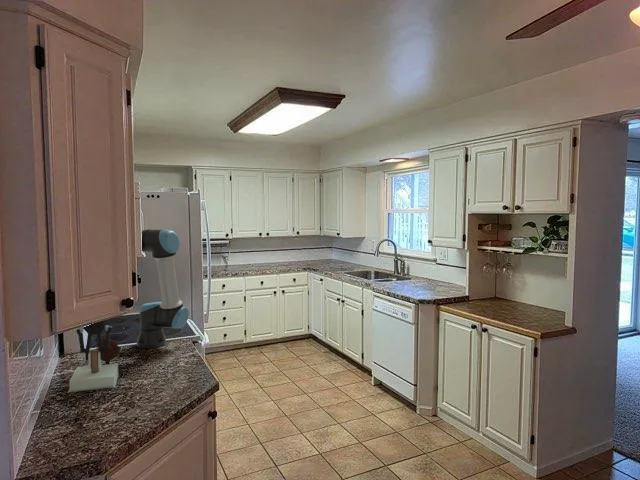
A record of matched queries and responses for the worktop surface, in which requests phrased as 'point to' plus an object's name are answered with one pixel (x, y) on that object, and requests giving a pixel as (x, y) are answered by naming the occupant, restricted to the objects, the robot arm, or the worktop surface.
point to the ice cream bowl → (109, 350)
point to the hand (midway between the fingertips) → (94, 367)
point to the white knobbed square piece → (94, 375)
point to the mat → (96, 388)
